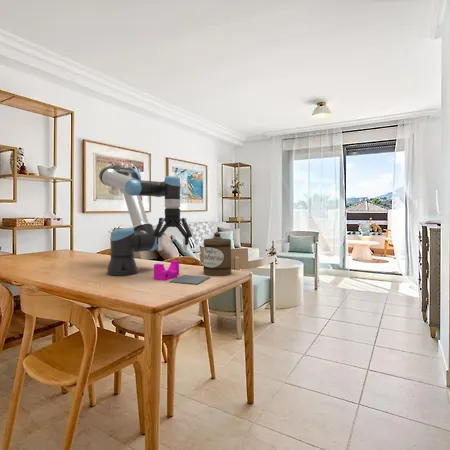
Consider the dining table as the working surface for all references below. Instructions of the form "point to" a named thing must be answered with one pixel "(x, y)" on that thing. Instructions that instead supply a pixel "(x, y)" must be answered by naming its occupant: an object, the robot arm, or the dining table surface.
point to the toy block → (166, 271)
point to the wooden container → (217, 256)
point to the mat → (190, 279)
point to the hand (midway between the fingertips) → (172, 251)
